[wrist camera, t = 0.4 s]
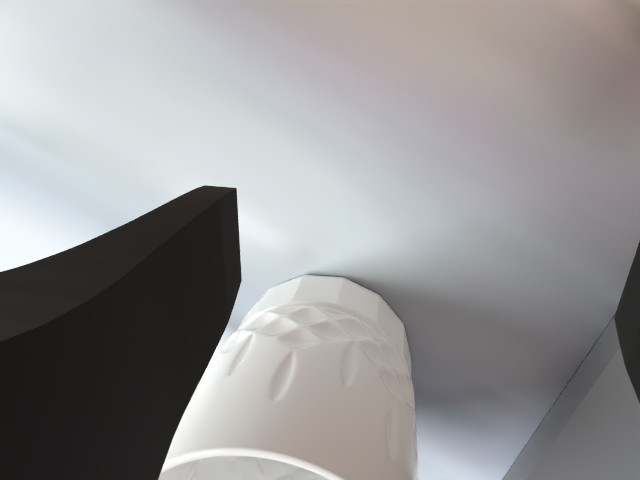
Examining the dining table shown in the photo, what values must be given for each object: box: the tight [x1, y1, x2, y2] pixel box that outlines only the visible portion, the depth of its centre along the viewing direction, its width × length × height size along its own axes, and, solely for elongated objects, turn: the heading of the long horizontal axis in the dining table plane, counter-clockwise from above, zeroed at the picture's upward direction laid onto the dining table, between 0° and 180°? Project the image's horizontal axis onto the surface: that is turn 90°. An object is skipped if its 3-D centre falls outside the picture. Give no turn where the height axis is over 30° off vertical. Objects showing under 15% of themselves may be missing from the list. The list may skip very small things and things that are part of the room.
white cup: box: [158, 275, 418, 480], centre depth 20 cm, size 8×8×10 cm
